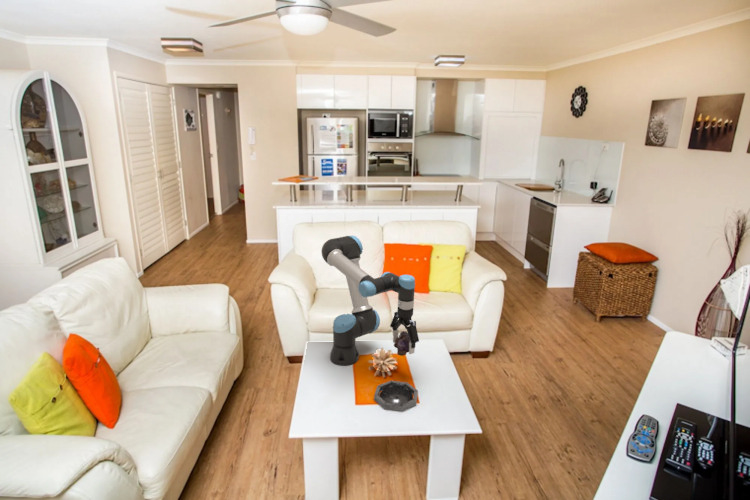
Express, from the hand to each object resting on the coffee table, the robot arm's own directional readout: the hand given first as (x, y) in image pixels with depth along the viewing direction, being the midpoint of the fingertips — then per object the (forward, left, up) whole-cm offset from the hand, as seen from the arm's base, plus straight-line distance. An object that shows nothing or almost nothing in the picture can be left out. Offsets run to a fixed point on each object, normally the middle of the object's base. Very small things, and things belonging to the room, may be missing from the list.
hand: (403, 347), depth 217 cm
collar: (+13, -14, -15) cm, 25 cm away
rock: (+1, 0, -2) cm, 2 cm away
